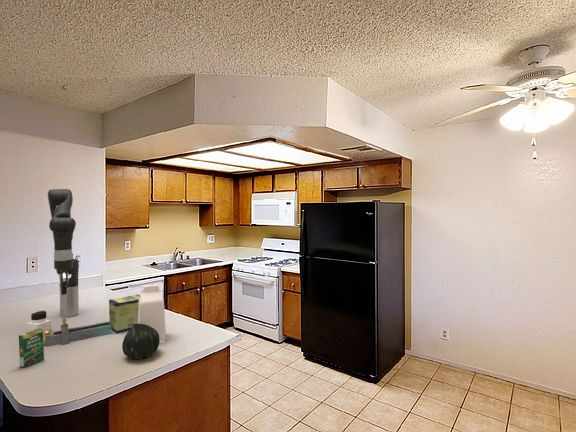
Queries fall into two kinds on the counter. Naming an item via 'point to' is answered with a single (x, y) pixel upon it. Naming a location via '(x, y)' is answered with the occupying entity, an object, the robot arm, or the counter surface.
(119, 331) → the protein box
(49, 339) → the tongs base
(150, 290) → the milk
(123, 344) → the squash
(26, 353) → the coffee box
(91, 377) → the counter surface
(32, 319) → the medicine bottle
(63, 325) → the lock pin
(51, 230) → the robot arm
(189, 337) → the counter surface
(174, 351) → the counter surface
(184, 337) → the counter surface
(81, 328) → the tong arm
